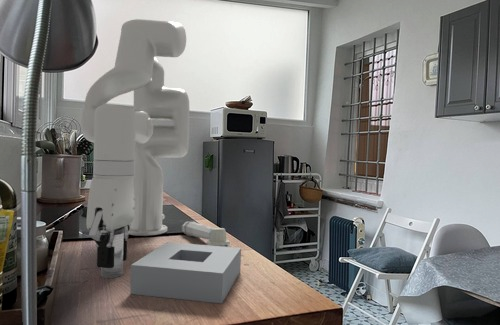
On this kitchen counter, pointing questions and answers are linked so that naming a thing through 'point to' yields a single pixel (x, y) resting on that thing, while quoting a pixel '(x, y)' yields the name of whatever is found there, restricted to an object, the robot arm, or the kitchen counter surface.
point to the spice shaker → (115, 255)
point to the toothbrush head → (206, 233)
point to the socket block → (187, 272)
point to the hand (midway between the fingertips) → (112, 262)
